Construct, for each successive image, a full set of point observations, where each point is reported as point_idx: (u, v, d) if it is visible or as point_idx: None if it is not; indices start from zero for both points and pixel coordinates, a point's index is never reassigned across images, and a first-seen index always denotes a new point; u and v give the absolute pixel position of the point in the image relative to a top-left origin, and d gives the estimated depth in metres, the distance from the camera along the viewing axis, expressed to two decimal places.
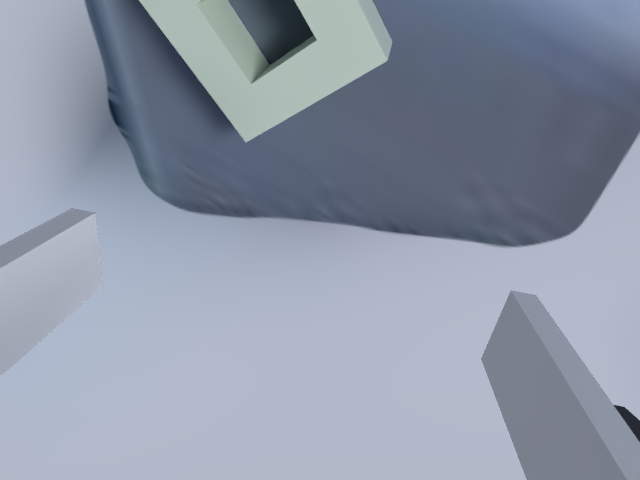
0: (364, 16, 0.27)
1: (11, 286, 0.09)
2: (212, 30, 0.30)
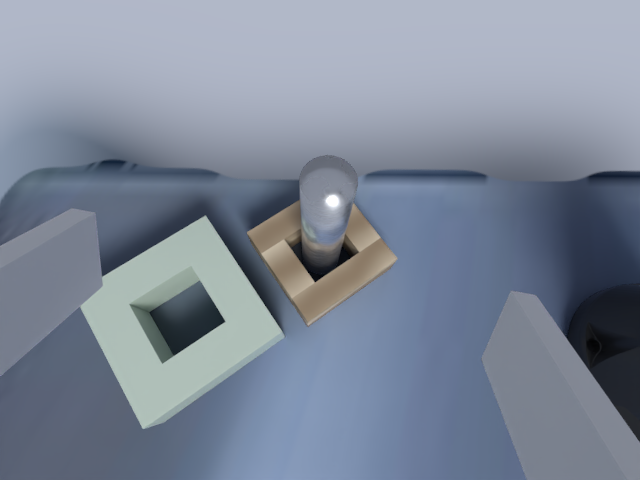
0: (178, 403, 0.34)
1: (10, 286, 0.09)
2: (172, 275, 0.38)
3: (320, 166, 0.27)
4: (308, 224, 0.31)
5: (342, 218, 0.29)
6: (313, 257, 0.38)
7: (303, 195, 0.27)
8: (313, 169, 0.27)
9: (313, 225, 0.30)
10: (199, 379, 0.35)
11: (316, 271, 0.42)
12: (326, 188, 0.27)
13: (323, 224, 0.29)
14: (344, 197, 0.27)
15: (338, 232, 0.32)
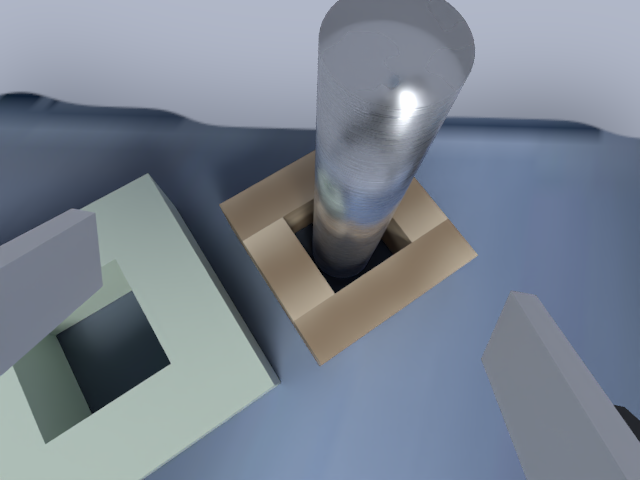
0: None
1: (10, 286, 0.09)
2: None
3: (373, 7, 0.10)
4: (333, 173, 0.14)
5: (417, 154, 0.12)
6: (334, 249, 0.21)
7: (329, 77, 0.10)
8: (356, 14, 0.10)
9: (346, 174, 0.13)
10: (113, 477, 0.18)
11: (335, 273, 0.26)
12: (391, 59, 0.10)
13: (371, 167, 0.12)
14: (441, 82, 0.10)
15: (395, 195, 0.15)
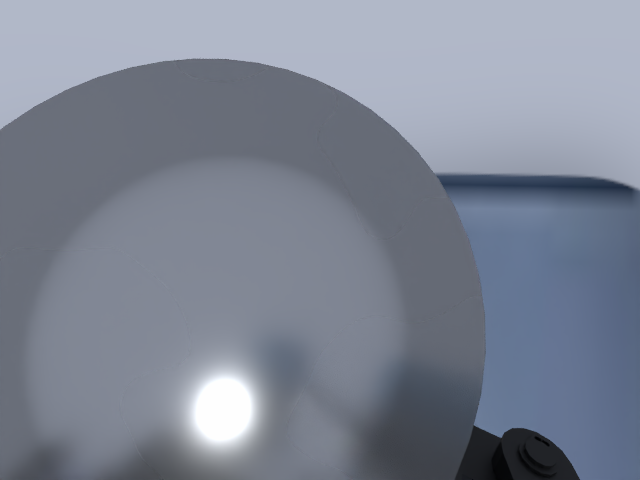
0: None
1: None
2: None
3: (127, 145, 0.03)
4: None
5: None
6: None
7: None
8: (58, 175, 0.03)
9: None
10: None
11: None
12: (151, 385, 0.02)
13: None
14: None
15: None
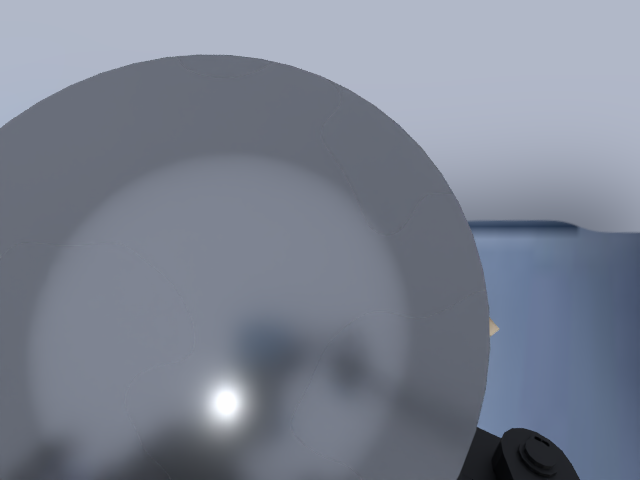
0: None
1: None
2: None
3: (132, 141, 0.03)
4: None
5: None
6: None
7: None
8: (62, 171, 0.03)
9: None
10: None
11: None
12: (156, 379, 0.02)
13: None
14: None
15: None
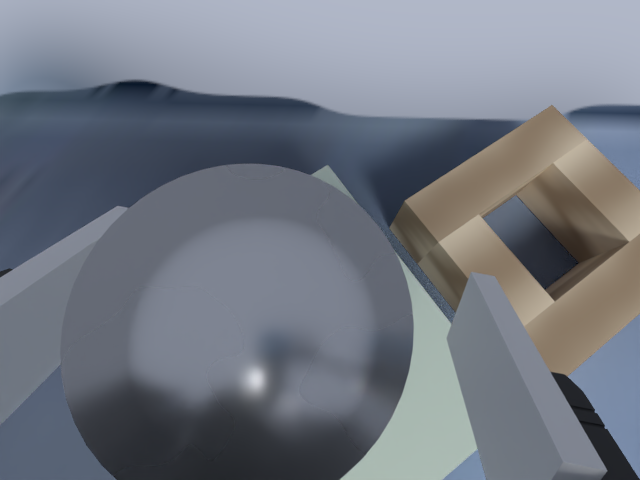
0: None
1: (72, 278, 0.10)
2: None
3: (201, 222, 0.05)
4: None
5: None
6: None
7: (80, 408, 0.04)
8: (161, 242, 0.05)
9: None
10: None
11: None
12: (223, 365, 0.04)
13: None
14: (332, 432, 0.04)
15: None
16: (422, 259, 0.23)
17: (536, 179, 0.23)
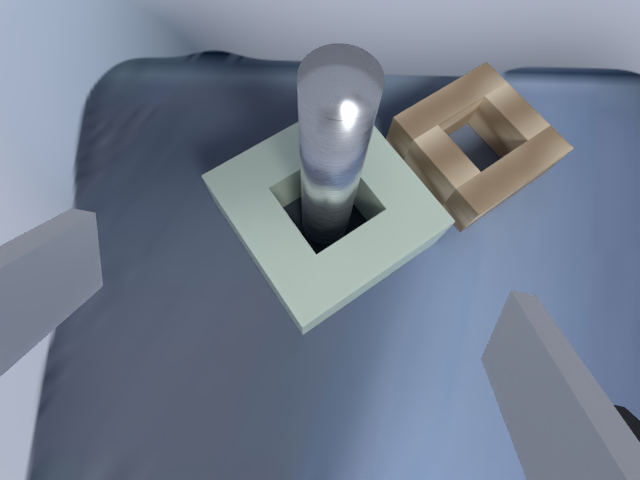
0: (341, 299, 0.28)
1: (10, 286, 0.09)
2: None
3: (328, 58, 0.18)
4: (310, 156, 0.22)
5: (359, 142, 0.20)
6: (316, 216, 0.29)
7: (303, 98, 0.18)
8: (318, 62, 0.18)
9: (317, 156, 0.21)
10: (363, 272, 0.28)
11: (319, 239, 0.33)
12: (337, 88, 0.18)
13: (331, 151, 0.20)
14: (364, 100, 0.18)
15: (352, 170, 0.23)
16: (405, 158, 0.36)
17: (477, 109, 0.37)
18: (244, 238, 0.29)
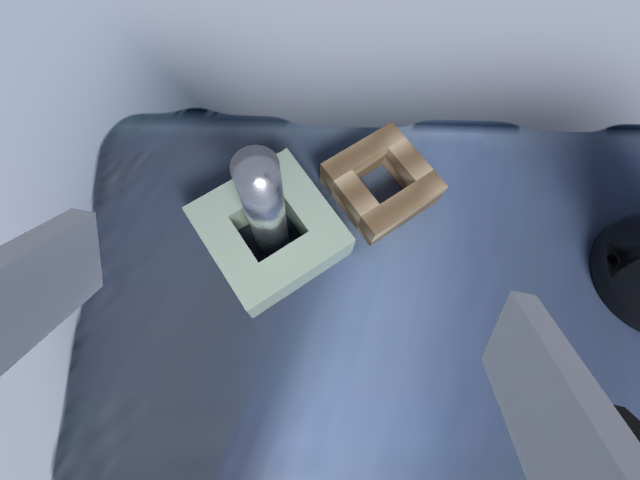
0: (273, 293, 0.41)
1: (10, 286, 0.09)
2: None
3: (248, 153, 0.32)
4: (244, 205, 0.35)
5: (270, 199, 0.34)
6: (259, 237, 0.43)
7: (232, 178, 0.31)
8: (242, 156, 0.32)
9: (248, 205, 0.35)
10: (290, 275, 0.42)
11: (267, 251, 0.47)
12: (252, 172, 0.31)
13: (254, 204, 0.34)
14: (267, 180, 0.31)
15: (272, 212, 0.36)
16: (332, 191, 0.50)
17: (385, 155, 0.51)
18: (210, 251, 0.43)
